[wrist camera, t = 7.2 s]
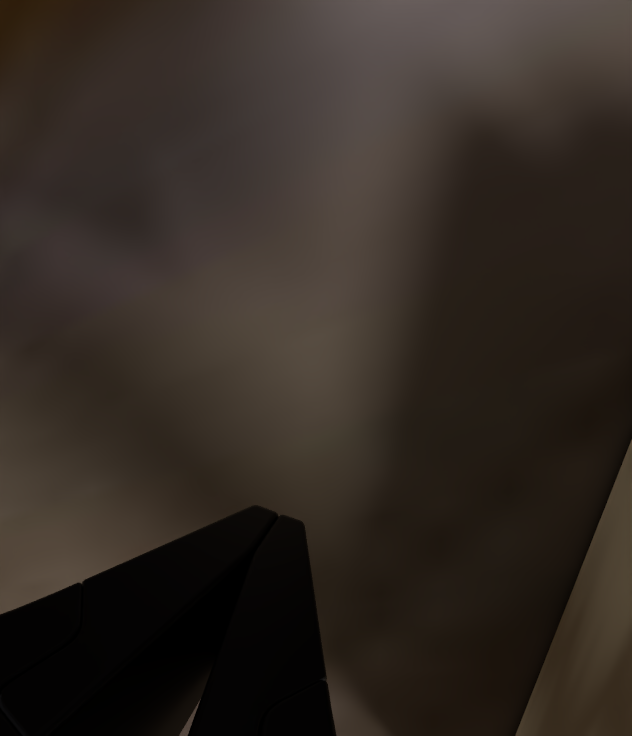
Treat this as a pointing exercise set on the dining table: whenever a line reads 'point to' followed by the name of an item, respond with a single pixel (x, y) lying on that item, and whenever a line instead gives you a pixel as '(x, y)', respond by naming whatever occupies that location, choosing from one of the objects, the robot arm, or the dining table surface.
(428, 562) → the dining table surface
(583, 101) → the dining table surface
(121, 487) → the dining table surface
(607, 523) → the beige plank
